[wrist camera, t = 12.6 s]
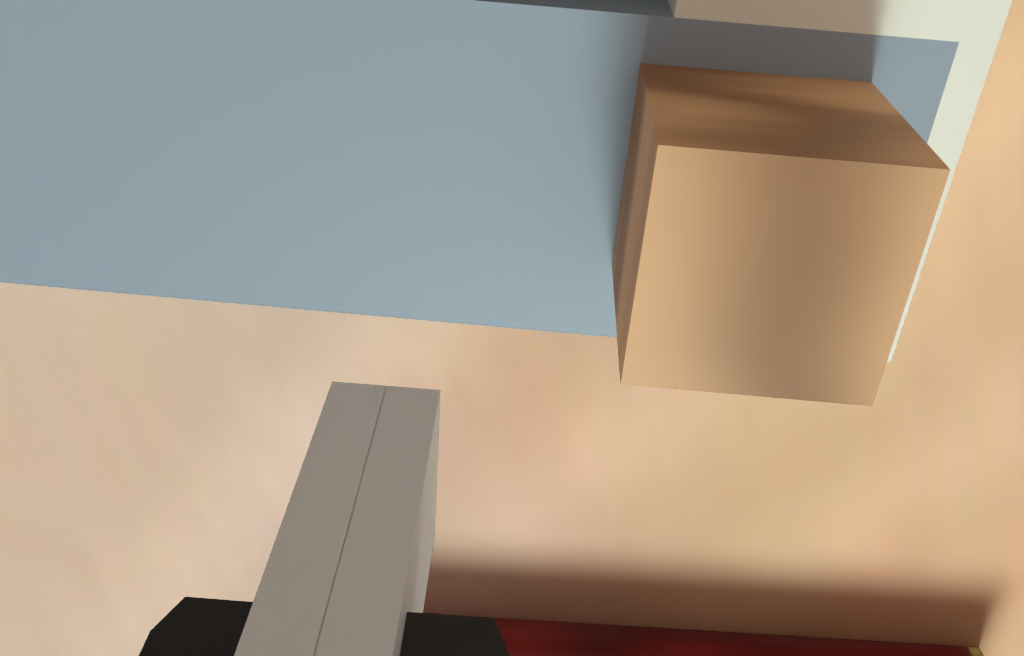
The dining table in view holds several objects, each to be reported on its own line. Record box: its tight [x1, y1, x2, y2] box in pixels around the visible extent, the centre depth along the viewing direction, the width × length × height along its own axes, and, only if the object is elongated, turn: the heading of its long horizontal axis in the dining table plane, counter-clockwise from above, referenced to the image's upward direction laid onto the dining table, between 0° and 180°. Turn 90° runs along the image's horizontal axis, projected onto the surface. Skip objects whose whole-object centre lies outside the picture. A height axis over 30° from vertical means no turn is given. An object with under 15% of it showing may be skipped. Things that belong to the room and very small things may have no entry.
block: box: [612, 63, 950, 406], centre depth 20 cm, size 5×5×5 cm
